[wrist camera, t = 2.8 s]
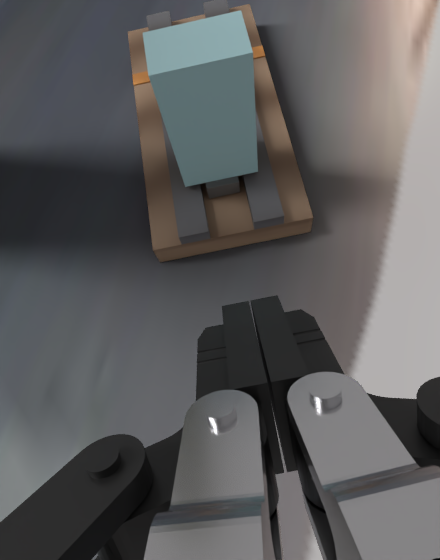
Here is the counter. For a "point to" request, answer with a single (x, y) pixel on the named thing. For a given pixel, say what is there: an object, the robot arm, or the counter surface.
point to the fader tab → (206, 98)
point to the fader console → (194, 199)
